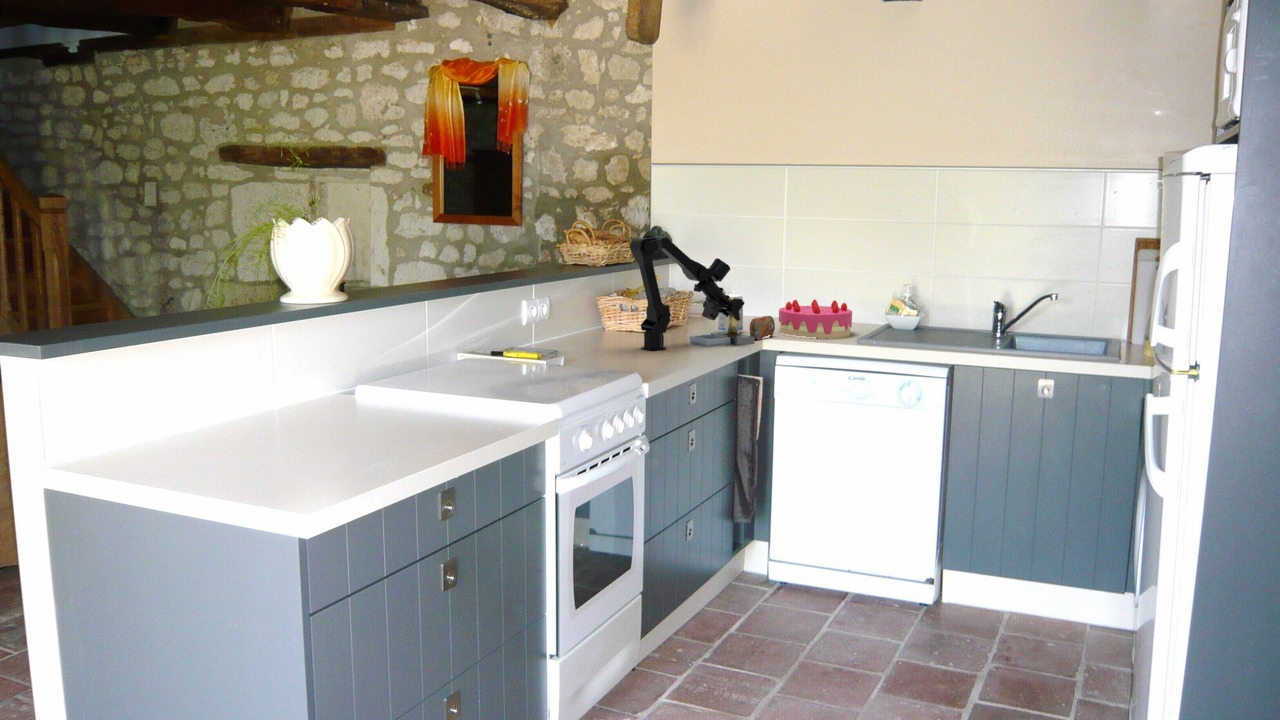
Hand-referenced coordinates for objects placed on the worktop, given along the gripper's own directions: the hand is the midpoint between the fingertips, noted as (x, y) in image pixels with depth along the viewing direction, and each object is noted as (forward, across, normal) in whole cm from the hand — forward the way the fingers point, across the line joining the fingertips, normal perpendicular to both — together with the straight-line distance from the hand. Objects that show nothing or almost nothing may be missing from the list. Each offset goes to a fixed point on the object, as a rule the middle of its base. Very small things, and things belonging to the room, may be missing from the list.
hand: (735, 319), depth 369 cm
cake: (+33, 0, +21) cm, 39 cm away
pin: (+5, 0, -7) cm, 8 cm away
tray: (-2, 0, -14) cm, 14 cm away
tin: (+15, 0, +3) cm, 15 cm away
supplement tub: (+14, -18, +2) cm, 23 cm away
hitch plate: (+5, 0, -7) cm, 8 cm away
